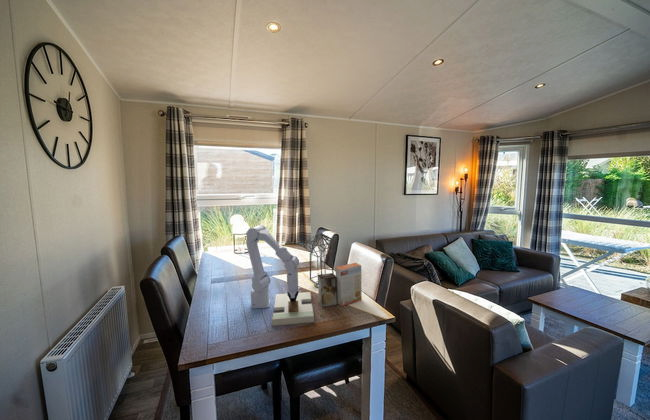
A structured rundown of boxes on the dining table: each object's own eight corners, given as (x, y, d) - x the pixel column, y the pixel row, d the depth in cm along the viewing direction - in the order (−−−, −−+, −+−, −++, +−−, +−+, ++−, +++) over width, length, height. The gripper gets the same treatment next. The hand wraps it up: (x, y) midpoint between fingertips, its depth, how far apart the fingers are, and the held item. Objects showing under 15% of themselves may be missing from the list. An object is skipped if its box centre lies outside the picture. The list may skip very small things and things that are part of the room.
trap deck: (272, 325, 116) (271, 319, 115) (276, 297, 143) (275, 292, 143) (314, 322, 118) (314, 315, 118) (310, 295, 146) (310, 290, 145)
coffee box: (333, 299, 140) (333, 272, 138) (337, 304, 134) (337, 276, 132) (318, 301, 138) (317, 274, 136) (321, 307, 132) (320, 278, 130)
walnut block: (288, 312, 123) (288, 306, 123) (288, 307, 128) (288, 301, 128) (298, 311, 124) (298, 305, 123) (298, 306, 129) (298, 300, 128)
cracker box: (355, 296, 144) (355, 262, 141) (361, 300, 138) (362, 265, 136) (335, 302, 137) (335, 266, 134) (341, 307, 132) (341, 270, 129)
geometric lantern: (320, 293, 147) (318, 237, 143) (305, 285, 159) (302, 233, 155) (339, 286, 157) (337, 232, 153) (324, 279, 169) (322, 229, 165)
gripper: (300, 285, 121) (301, 311, 123) (299, 274, 136) (300, 297, 137) (286, 286, 120) (287, 312, 122) (286, 275, 135) (287, 298, 136)
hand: (293, 304), depth 130 cm, fingers closed
